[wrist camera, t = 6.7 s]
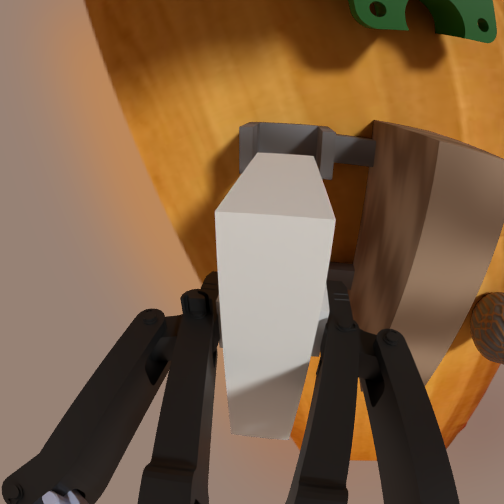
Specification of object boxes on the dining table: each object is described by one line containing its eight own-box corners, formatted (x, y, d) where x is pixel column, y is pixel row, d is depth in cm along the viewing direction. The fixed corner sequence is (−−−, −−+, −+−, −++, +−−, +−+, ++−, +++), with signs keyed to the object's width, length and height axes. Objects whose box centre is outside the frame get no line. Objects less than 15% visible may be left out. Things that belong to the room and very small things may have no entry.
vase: (504, 271, 23) (543, 322, 15) (508, 309, 25) (538, 358, 17) (458, 303, 25) (489, 362, 18) (467, 337, 28) (491, 391, 20)
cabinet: (250, 109, 20) (209, 117, 10) (430, 131, 18) (517, 165, 9) (248, 287, 28) (224, 382, 18) (393, 297, 26) (423, 388, 17)
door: (248, 152, 15) (196, 210, 7) (313, 156, 15) (335, 220, 7) (247, 322, 21) (221, 432, 13) (295, 327, 21) (288, 439, 13)
